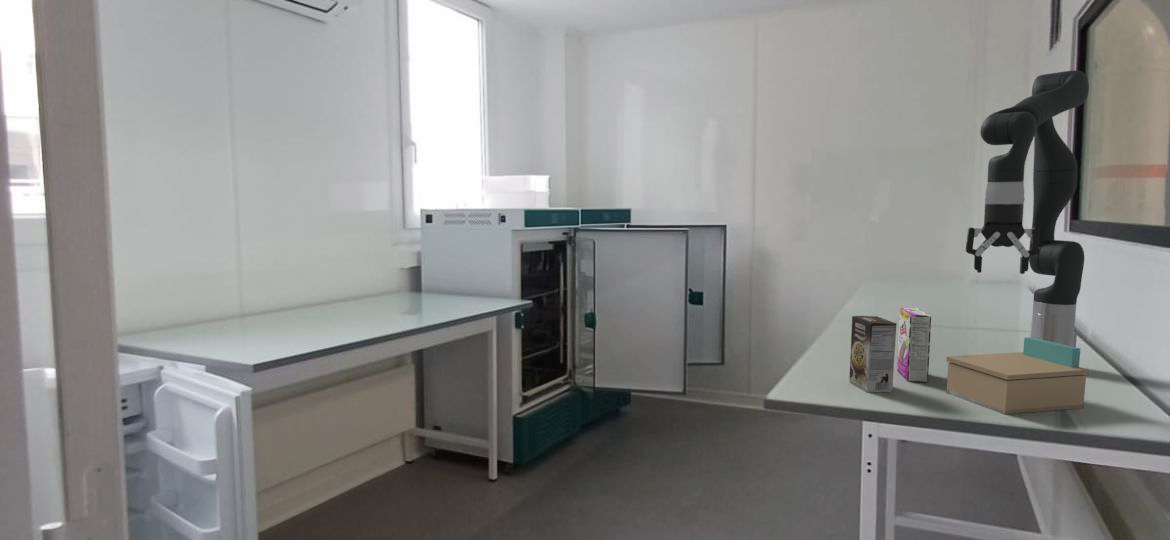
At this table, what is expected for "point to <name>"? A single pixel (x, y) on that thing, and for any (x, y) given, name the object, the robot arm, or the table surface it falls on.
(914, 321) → the candy bar box
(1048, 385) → the mailer box
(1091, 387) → the table surface
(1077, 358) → the lid
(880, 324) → the brown upright rectangular box
